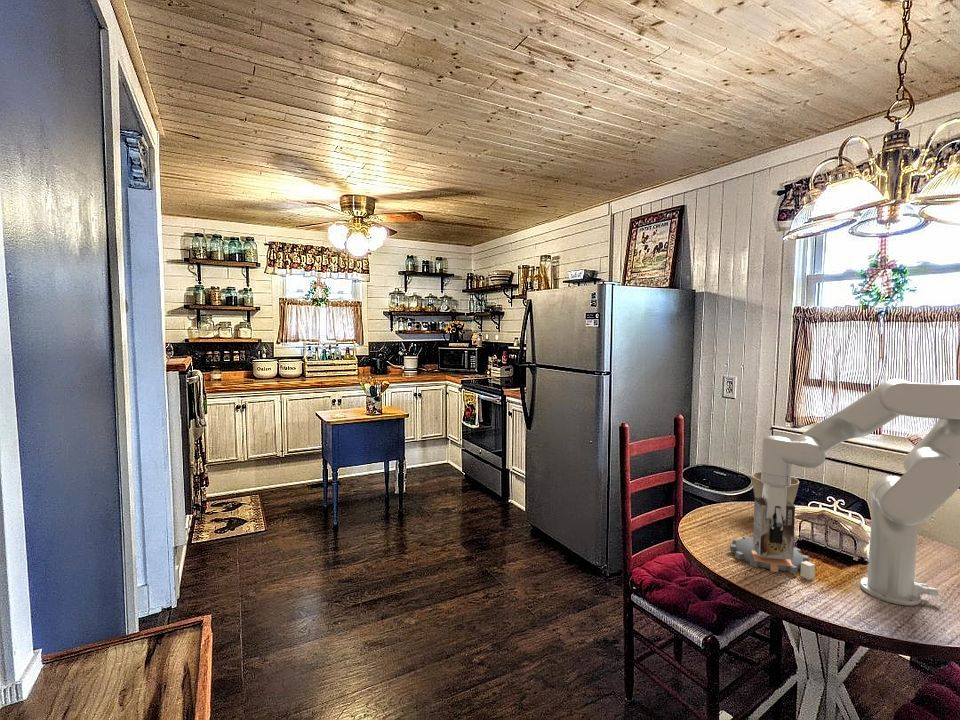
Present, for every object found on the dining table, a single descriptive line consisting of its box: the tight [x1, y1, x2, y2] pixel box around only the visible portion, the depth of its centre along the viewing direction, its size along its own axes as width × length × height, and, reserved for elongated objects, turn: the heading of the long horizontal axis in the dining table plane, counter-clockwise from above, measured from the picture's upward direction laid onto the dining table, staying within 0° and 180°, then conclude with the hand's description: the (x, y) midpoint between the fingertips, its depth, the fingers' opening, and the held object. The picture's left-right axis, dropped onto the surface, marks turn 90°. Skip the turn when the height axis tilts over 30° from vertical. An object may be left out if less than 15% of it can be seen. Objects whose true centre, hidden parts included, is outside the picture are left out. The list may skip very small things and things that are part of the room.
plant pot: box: [751, 471, 800, 505], centre depth 180 cm, size 15×15×16 cm
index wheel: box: [729, 535, 810, 574], centre depth 151 cm, size 21×22×6 cm
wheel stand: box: [799, 561, 816, 581], centre depth 147 cm, size 15×15×4 cm
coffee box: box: [752, 496, 796, 560], centre depth 144 cm, size 9×6×16 cm
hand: (773, 536), depth 145 cm, fingers closed on coffee box, 7 cm apart
